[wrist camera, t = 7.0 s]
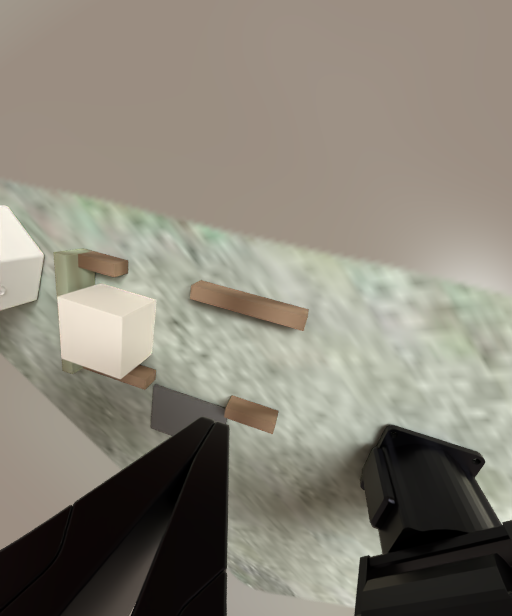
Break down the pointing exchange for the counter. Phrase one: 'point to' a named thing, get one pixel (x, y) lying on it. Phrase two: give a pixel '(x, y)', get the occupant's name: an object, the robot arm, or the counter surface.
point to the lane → (81, 274)
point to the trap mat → (180, 410)
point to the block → (106, 328)
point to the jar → (17, 262)
